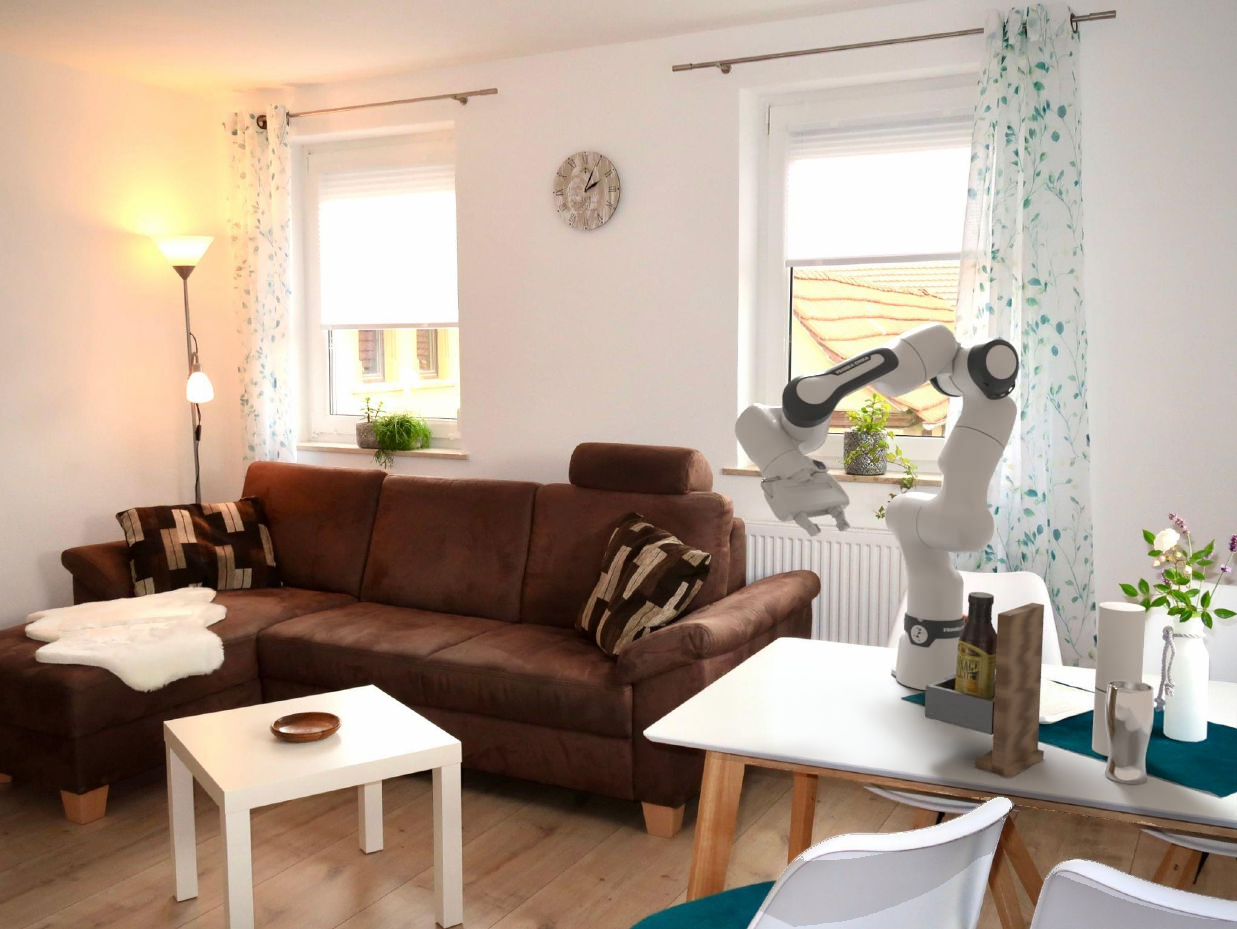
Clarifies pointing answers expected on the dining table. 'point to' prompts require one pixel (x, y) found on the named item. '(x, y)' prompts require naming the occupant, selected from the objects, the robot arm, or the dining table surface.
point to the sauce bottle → (977, 649)
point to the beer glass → (1128, 729)
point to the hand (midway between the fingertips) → (831, 531)
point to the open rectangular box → (958, 706)
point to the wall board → (1016, 692)
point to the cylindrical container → (1116, 658)
